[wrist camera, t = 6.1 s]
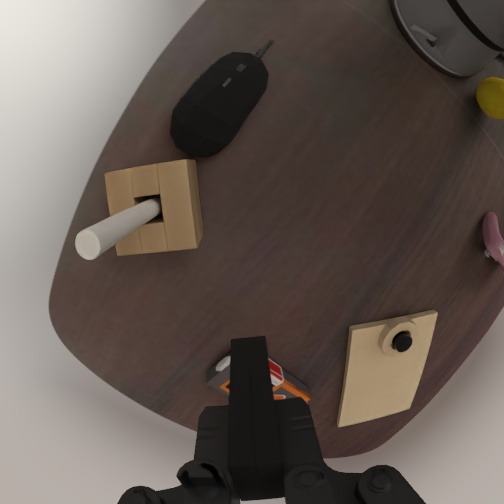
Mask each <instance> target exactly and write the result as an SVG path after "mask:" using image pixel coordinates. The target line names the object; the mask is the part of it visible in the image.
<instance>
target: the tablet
mask: <svg viewBox="0 0 504 504" xmlns="http://www.w3.org/2000/svg"><path fill="white" fill-rule="evenodd" d="M437 314H438V313H437V312H436V311H435V310H434V309H433V310H429V311H424V312H420V313H415V314H411V315H406V316H401V317H396V318H391V319H386V320H380V321H375V322H369V323H364V324H358V325H352V326H349V337H348V347H347V356H346V364H345V372H344V380H343V387H342V393H341V400H340V406H339V412H338V418H337V426H338V427H343V426H348V425H352V424H356V423H361V422H365V421H369V420H372V419H376V418H380V417H384V416H387V415H390V414H394V413H397V412H400V411H404V410H407V409H410V406H411V403H412V401H413V398H414V395H415V392H416V390H417V387H418V384H419V381H420V378H421V375H422V371H423V368H424V365H425V361H426V358H427V355H428V351H429V347H430V344H431V340H432V336H433V332H434V328H435V323H436V319H437ZM401 331H406V332H407V333H408V334H409V335H410V337H411V338H412V340H413V342H412V345H411V347H410V348H409V349H408V350H407V351H405V352H398V351H397V350H396V349H395V347H394V346H393V345H392V340H393V338H394V336H395V335H396V334H397V333H399V332H401Z"/></svg>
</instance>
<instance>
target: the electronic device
mask: <svg viewBox="0 0 504 504" xmlns="http://www.w3.org/2000/svg"><path fill="white" fill-rule="evenodd" d="M230 356H231V352H230V353H229V354H228V355H227V356H225V357H224V358H223V359H222V360H221V361H219V362H218V363H217V364H216V365H214V366H213V367H212V368H210V369H209V370H208V371H207V376H206V383H207V384H208V385H210V386H211V387H213V388H215V389H216V390H218V391H219V392H221V393H223V394H224V395H226V396H228V397H229V383H230ZM268 360H269V367H270V374H271V381H272V388H273V395H274V400H279V399H287V398H293V397H300V396H301V397H302V398H303V399H304V401H305V402H306V403H307V404H308V402H307V401H309V400H310V399H311V397H312V396H311V393H310V390H309V387H308V386H306V385H305V384H303V383H302V382H300V381H299V380H297V379H296V378H294V377H293V376H291V375H290V374H289V373H287V372H286V371H284V370H283V369H282V367H281V366H279V365H278V364H276V363H275V362H274V361H272V360H271V359H269V358H268Z"/></svg>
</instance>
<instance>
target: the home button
mask: <svg viewBox="0 0 504 504" xmlns="http://www.w3.org/2000/svg"><path fill="white" fill-rule="evenodd" d="M412 342H413V340H412V338H411V337H410V335H409V334H408V333H407V332H406V331H401V332H399V333H397V334H396V335H395V336H394V338H393V340H392V345H393V346H394V347H395V349H396V350H397V351H398V352H405V351H407V350H408V349H409V348H410V347H411V345H412Z"/></svg>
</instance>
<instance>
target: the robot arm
mask: <svg viewBox="0 0 504 504" xmlns="http://www.w3.org/2000/svg"><path fill="white" fill-rule="evenodd" d="M391 8H392V12H393V15H394V18H395V20H396V22H397V25H398V27H399V28H400V30H401V32H402V33H403V35H404V36H405V38H406V39H407V41H408V42H409V43H410V44H411V46H412V47H413V48H414V49H415V50H416V51H417V53H418V54H419V55H420V56H421V57H423V58H424V59H425V60H426V61H427V62H428V63H429V64H431V65H432V66H433V67H435V68H436V69H438V70H439V71H441V72H443V73H445V74H447V75H450V76H453V77H459V78H461V77H468V76H472V75H475V74H477V73H478V72H480V71H481V70H483V69H484V67H485V66H487V65H488V64H489V63H490V62H491V61H492V60H493V59H494V58H495V57H496V56H497V55H500V56H501V57H502V58H503V59H504V53H503V52H504V0H391ZM177 478H178V479H179V481H180V482H181V484H182V485H180V486H178V487H174V488H170V489H166V490H160V491H155V490H153V489H151V488H149V487H145V486H136V487H132V488H130V489H128V490H126V492H125V493H124V494H123V495H122V496H121V498H120V500H119V502H118V503H117V504H240V499H241V501H248V500H262V499H272V498H282V497H285V502H286V504H426V503H425V502H424V501H423V500H422V498H421V497H420V496H419V495H418V494H417V492H416V491H415V490H414V489H413V488H412V487H411V485H410V484H409V483H408V482H407V481H406V479H405V478H404V477H403V476H402V475H401V473H400V472H399V471H397V470H396V469H395V468H394V467H391V466H387V465H377V466H374V467H371V468H369V469H367V470H366V471H365V472H363V473H343V472H338V471H335V470H333V469H331V468H330V467H328V466H327V465H326V463H325V462H324V460H323V458H322V454H321V450H320V446H319V442H318V438H317V435H316V431H315V427H314V423H313V419H312V416H311V412H310V408H309V405H308V404H307V403H306V402H305V401H304V399H303V398H302V397H301V396H300V397H293V398H287V399H279V400H274V395H273V388H272V381H271V374H270V367H269V360H268V353H267V345H266V338H265V336H258V337H249V338H240V339H231V356H230V383H229V405H227V406H209V407H205V409H204V410H203V412H202V413H201V415H200V416H199V422H198V430H197V439H196V446H195V454H194V460H192V461H190V462H188V463H185V464H184V465H183V466H182V467H181V468H180V469H179V471H178V473H177Z"/></svg>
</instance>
